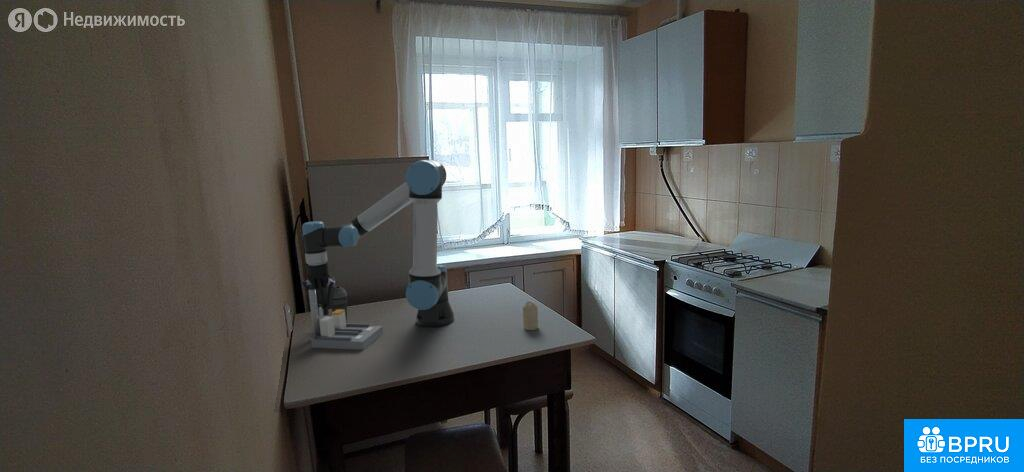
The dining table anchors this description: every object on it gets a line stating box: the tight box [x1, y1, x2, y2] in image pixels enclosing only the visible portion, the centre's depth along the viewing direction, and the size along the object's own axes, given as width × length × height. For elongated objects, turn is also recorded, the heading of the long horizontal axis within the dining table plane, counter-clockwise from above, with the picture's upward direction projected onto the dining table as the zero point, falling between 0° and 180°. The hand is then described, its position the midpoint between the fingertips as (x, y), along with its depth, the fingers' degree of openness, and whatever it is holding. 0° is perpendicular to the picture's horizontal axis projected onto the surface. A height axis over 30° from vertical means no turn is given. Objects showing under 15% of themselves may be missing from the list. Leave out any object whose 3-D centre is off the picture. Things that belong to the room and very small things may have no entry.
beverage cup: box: [330, 276, 348, 323], centre depth 193 cm, size 7×7×20 cm
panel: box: [311, 322, 384, 351], centre depth 176 cm, size 20×15×4 cm
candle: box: [522, 301, 539, 331], centre depth 181 cm, size 6×6×10 cm
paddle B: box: [319, 315, 335, 337], centre depth 173 cm, size 3×4×7 cm
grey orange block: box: [331, 309, 346, 328], centre depth 181 cm, size 3×4×7 cm
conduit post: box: [308, 289, 321, 339], centre depth 171 cm, size 2×2×18 cm
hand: (324, 323), depth 182 cm, fingers closed
